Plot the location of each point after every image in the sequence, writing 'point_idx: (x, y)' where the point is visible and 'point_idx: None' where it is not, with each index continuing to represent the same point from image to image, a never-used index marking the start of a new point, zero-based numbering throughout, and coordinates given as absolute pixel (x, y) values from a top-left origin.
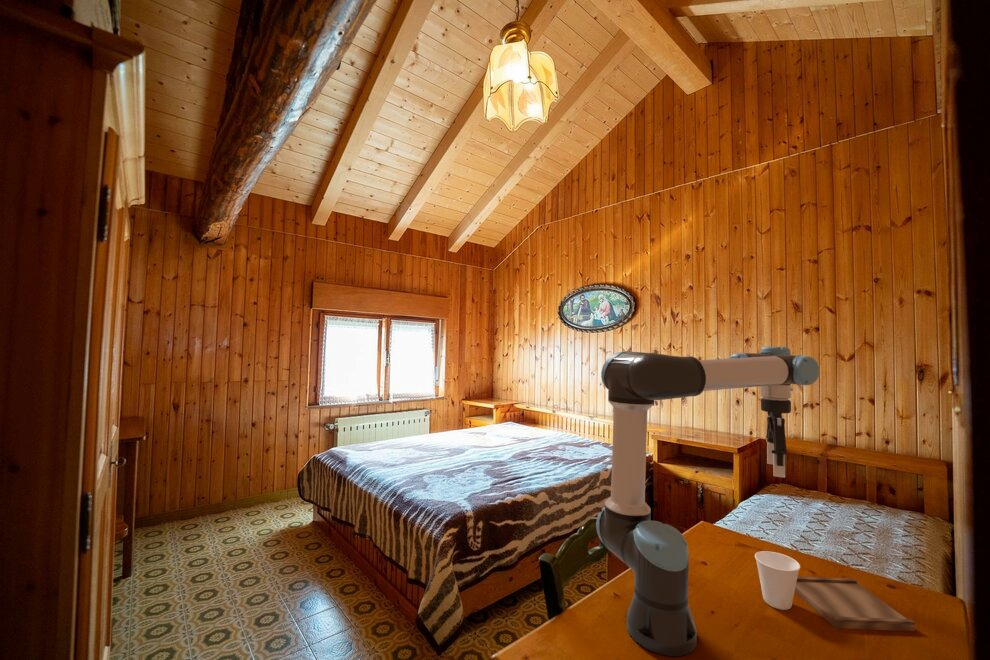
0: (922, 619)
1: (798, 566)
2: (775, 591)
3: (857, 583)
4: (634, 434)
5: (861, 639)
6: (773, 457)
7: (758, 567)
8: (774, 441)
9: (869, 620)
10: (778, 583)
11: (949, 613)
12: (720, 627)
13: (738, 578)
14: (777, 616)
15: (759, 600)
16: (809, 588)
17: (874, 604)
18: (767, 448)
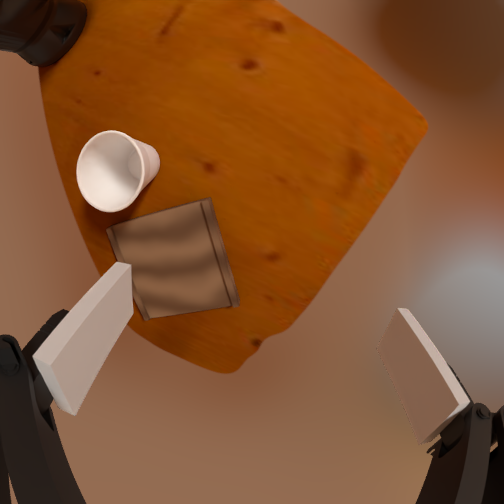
0: (180, 335)
1: (101, 207)
2: (108, 158)
3: (232, 305)
4: None
5: (102, 246)
6: (71, 336)
7: (111, 136)
8: (4, 454)
9: None
10: (97, 164)
11: (208, 365)
12: (71, 84)
13: (204, 115)
14: None
15: (141, 137)
16: (186, 226)
17: (175, 299)
18: (441, 372)
